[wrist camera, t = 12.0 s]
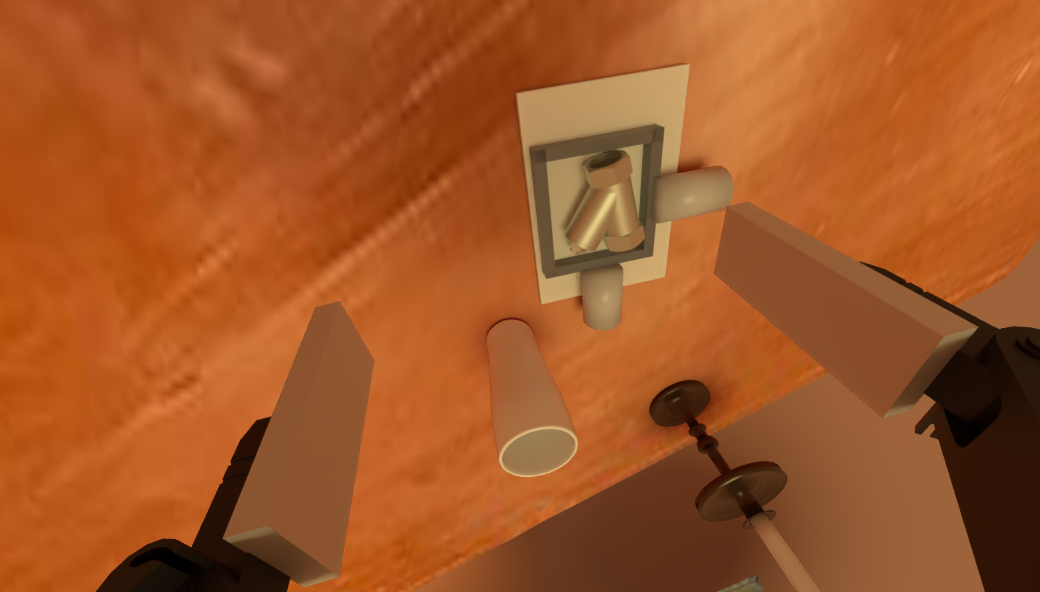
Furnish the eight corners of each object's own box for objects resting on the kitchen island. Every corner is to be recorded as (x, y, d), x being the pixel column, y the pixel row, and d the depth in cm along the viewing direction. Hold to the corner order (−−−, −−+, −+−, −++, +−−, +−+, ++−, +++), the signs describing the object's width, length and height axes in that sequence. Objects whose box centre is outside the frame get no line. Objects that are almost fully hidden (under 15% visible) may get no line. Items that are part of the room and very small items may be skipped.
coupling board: (514, 92, 29) (527, 99, 25) (718, 57, 30) (761, 59, 26) (541, 314, 41) (552, 342, 37) (684, 282, 43) (709, 306, 39)
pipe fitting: (568, 250, 37) (633, 225, 36) (578, 270, 34) (649, 243, 33) (543, 176, 32) (617, 145, 31) (551, 192, 29) (634, 158, 28)
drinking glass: (467, 330, 40) (481, 452, 28) (521, 301, 40) (560, 414, 27) (497, 366, 44) (521, 487, 32) (547, 340, 44) (591, 454, 31)
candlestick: (676, 431, 60) (897, 780, 31) (629, 417, 55) (837, 812, 27) (726, 386, 56) (1034, 743, 27) (678, 367, 51) (990, 774, 22)
